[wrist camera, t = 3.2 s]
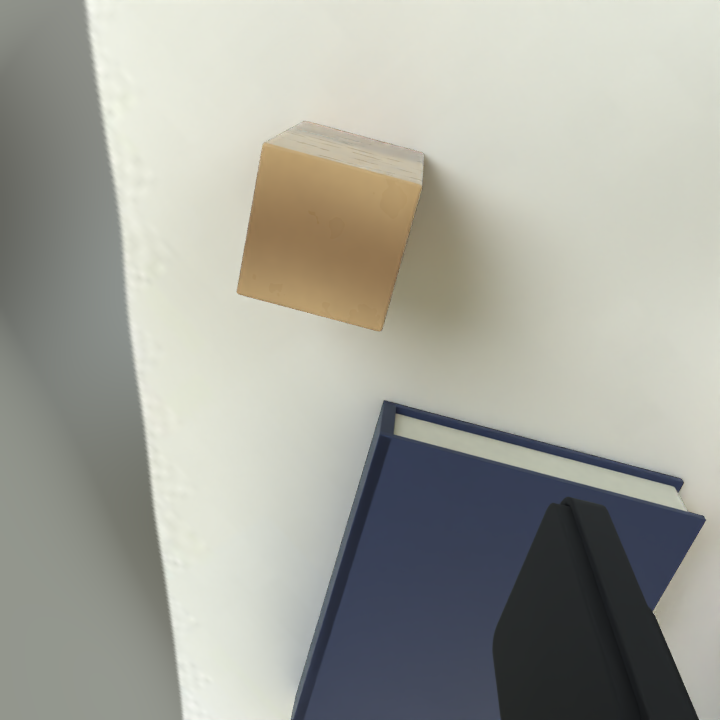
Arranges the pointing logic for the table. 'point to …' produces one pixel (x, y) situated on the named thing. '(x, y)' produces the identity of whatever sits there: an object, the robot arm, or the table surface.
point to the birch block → (330, 223)
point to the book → (459, 562)
